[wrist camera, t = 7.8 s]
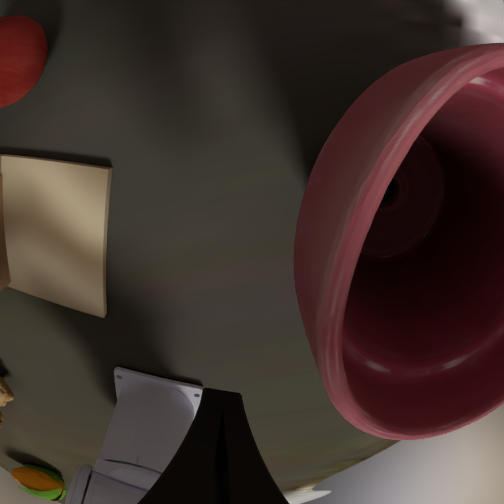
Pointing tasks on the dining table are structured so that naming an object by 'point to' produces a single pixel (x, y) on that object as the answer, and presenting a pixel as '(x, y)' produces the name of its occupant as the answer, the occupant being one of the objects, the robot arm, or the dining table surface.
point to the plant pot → (410, 248)
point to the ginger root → (4, 395)
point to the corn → (40, 482)
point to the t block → (3, 245)
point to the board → (57, 230)
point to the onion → (20, 56)
